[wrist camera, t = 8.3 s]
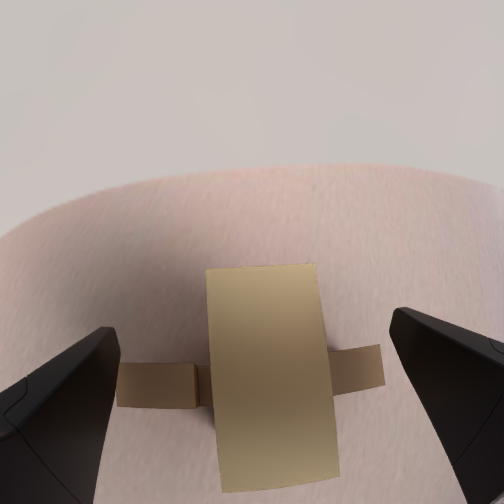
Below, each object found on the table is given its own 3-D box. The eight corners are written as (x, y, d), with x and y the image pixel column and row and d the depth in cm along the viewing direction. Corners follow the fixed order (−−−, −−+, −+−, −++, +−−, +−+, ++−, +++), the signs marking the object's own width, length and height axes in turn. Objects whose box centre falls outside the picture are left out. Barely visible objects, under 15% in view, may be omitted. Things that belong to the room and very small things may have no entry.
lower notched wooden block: (346, 355, 17) (379, 344, 13) (350, 388, 17) (385, 385, 13) (141, 369, 16) (115, 362, 12) (142, 403, 15) (116, 406, 11)
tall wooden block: (278, 431, 15) (339, 476, 6) (224, 436, 15) (222, 492, 6) (269, 330, 18) (314, 263, 9) (216, 334, 17) (205, 268, 8)
